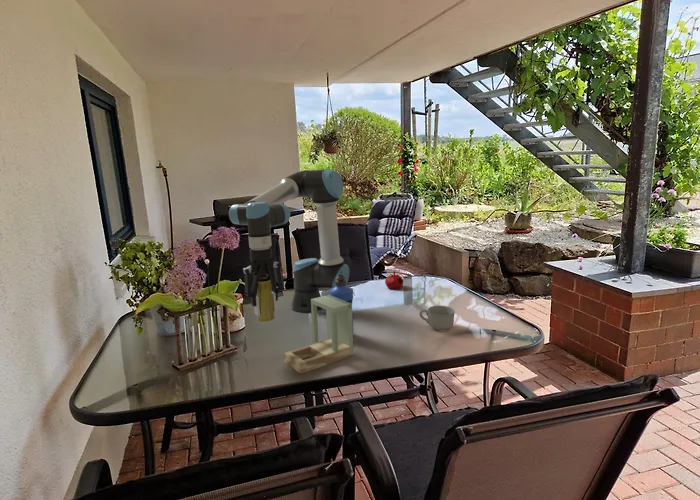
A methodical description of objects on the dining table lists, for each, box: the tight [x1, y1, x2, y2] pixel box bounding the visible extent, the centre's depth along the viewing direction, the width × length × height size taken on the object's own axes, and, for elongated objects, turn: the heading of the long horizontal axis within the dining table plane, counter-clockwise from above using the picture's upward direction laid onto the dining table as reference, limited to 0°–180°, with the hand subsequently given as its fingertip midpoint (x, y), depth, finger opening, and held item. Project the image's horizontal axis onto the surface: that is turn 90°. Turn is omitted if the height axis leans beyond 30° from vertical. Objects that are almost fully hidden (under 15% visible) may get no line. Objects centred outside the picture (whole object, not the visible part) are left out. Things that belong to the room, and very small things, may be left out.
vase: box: [256, 277, 276, 323], centre depth 153 cm, size 6×6×14 cm
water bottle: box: [328, 275, 355, 338], centre depth 171 cm, size 9×9×25 cm
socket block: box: [283, 338, 352, 375], centre depth 153 cm, size 11×20×4 cm, turn 128°
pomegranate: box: [384, 270, 405, 290], centre depth 237 cm, size 10×10×9 cm
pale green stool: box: [310, 294, 354, 356], centre depth 158 cm, size 14×8×19 cm, turn 38°
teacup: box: [418, 305, 455, 331], centre depth 179 cm, size 14×11×8 cm
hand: (265, 312), depth 154 cm, fingers closed on vase, 6 cm apart
